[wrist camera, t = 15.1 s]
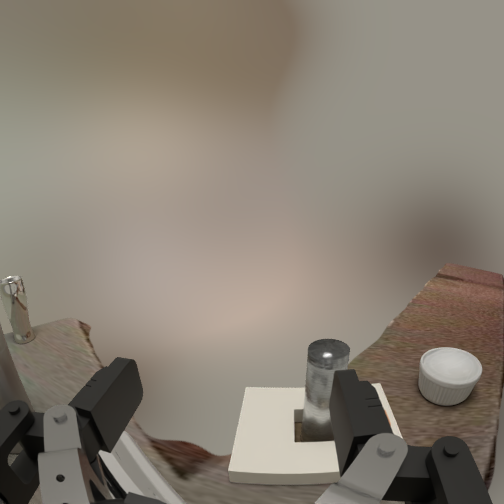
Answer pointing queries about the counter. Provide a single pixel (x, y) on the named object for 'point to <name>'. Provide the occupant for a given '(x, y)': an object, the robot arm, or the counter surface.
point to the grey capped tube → (321, 387)
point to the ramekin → (448, 375)
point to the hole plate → (283, 441)
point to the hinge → (134, 473)
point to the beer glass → (16, 308)
